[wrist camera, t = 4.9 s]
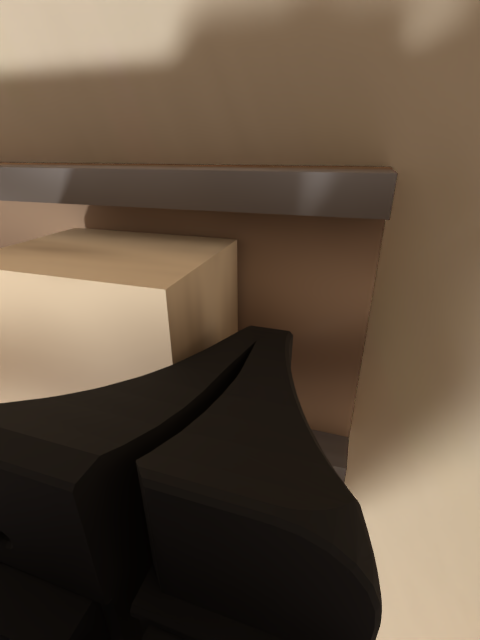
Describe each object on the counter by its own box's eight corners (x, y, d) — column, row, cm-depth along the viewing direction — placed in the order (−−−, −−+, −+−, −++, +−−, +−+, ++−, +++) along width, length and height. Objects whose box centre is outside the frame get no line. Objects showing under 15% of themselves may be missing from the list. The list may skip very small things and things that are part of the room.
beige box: (238, 398, 14) (186, 498, 10) (103, 371, 15) (13, 447, 11) (237, 239, 11) (165, 289, 7) (74, 227, 13) (-55, 263, 9)
